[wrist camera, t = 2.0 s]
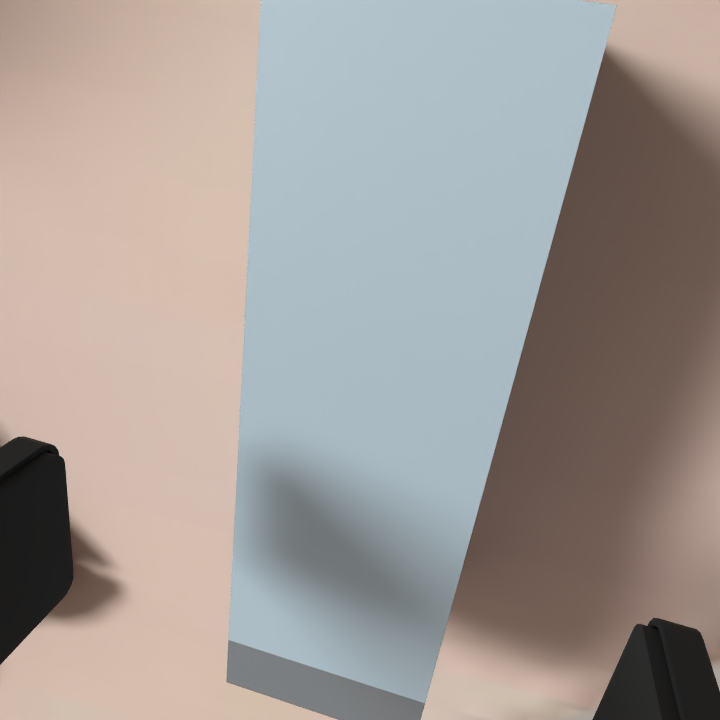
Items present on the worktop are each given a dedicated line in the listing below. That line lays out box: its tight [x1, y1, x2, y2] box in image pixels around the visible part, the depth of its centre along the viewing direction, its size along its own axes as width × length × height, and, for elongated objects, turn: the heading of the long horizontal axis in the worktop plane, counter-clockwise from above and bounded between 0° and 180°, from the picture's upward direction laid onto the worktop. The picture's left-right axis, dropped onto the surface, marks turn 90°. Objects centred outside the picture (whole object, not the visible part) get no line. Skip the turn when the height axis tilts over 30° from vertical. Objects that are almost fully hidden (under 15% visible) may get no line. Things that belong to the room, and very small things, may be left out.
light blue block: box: [226, 0, 617, 720], centre depth 15 cm, size 16×5×6 cm, turn 172°
